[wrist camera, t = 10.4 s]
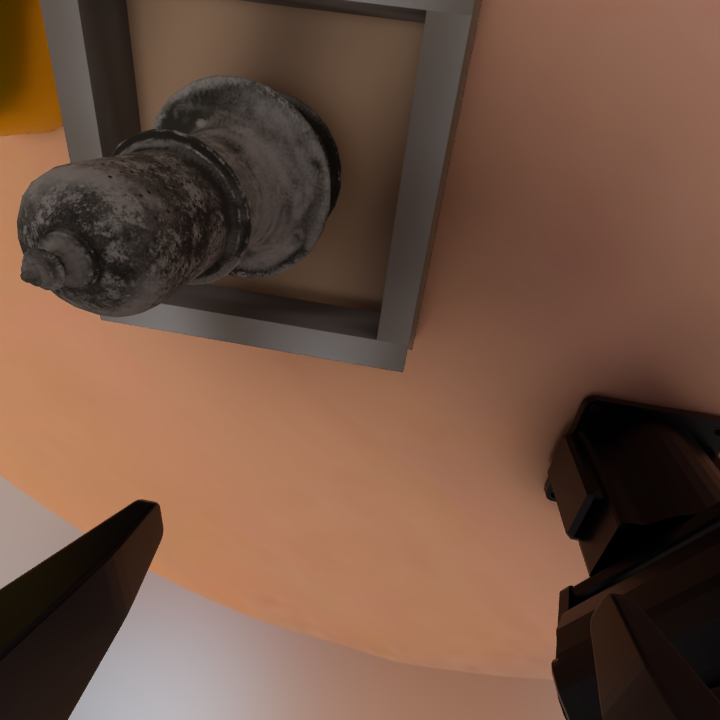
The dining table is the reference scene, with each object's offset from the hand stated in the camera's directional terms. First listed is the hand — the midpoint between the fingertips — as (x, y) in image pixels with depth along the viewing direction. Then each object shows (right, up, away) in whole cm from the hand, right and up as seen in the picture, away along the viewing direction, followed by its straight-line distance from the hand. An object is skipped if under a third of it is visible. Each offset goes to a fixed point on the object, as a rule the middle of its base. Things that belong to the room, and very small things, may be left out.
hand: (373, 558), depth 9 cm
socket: (-3, +12, +9) cm, 15 cm away
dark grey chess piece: (-3, +11, +8) cm, 14 cm away
